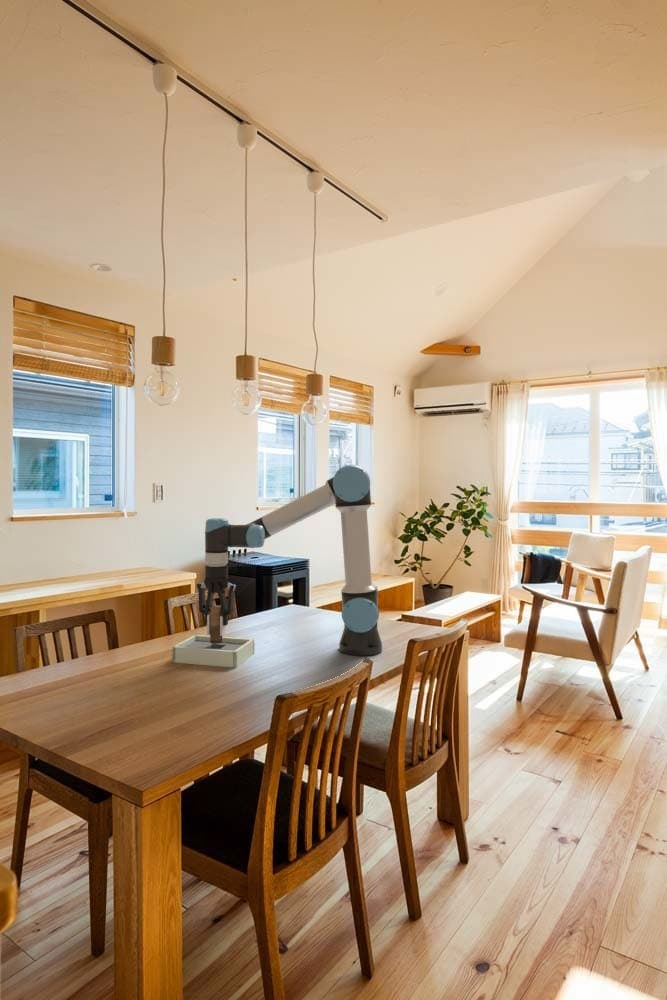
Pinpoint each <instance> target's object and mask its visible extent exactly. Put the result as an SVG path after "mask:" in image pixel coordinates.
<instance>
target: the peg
mask: <svg viewBox="0 0 667 1000" xmlns="http://www.w3.org/2000/svg"><path fill="white" fill-rule="evenodd" d="M221 615H222V610H221V605H220V604H219V605H218V604H217V605H216V604H215V605H212V606H210V635H209V636H210V643H212V644H219V643H222V637H223V636H220V616H221Z"/></svg>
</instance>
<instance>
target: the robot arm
mask: <svg viewBox="0 0 667 1000" xmlns="http://www.w3.org/2000/svg"><path fill="white" fill-rule="evenodd" d="M371 497H372V496H371V479H370V475H369V473H368V472H367V470H366V469H365V468H363V467H361V466H360V465H357V464H346V465H343V466H341V467H340V468H338V470H337V471H336V472H335V474H334V476H333V477H331V478H329V479H327V480H326V481H325V484H324V485H321V486H320V487H318V488H315V489H314V490H312V491H310V492H308V493H306V494H304V495H302V496H300V497H298V498H296V499H294V500H293V501H291V502H289V503H287V504H284V505H282V506H281V507H279V508H278V507H277V509H275V510H273V511H271V512H269V513H267V514H264V515H263V516H261V517H259V518H257V519H255V520H253V521H251V522H249V523H247V524H230V523H229V519H228V518H221V517H220V518H218V517H217V518H215V517H214V518H207V520H205V529H204V530H205V531H204V538H205V540H204V543H205V544H204V546H205V549H204V551H205V552H204V555H205V556H204V564H205V566H204V576H205V577H204V580H203V582H198V583H196V587H197V590H198V611H199V613H200V614H203V615H204V625H206V636H210V606H213V601H214V597H215V593H216V594H217V595H218V596H217V597H218V600H219V602H220V603H219V605H220V606H221V610H222V615H221V616H220V636H222V637H224V636H225V635H226V626H227V625H228V624H229V616H230V615H232V614H234V609H235V591H236V588H237V584H236V583H231V582H230V580H229V565H227V564H228V563H229V548H249V549H250V548H251V549H256V548H257V549H259V548H263V547H264V544H265V540H266V539H268V538H270V537H272V536H274V535H276V534H278V533H280V532H282V531H284V530H286V529H288V528H290V527H292V526H293V525H296V524H297V523H300V522H302V521H303V520H306V519H307V518H310V517H312V516H315V515H316V514H317V513H320V512H322V511H323V510H326V509H328V508H330V507H332V506H334V505H335V509H336V510H338V512H340V521H341V522H340V523H341V535H342V536H341V539H342V549H343V552H342V553H343V567H344V580H345V581H344V583H345V584H344V586H343V587H342V589H341V605H342V606H341V607H342V610H341V619H342V621H343V623H344V628H343V631H342V633H341V637H340V640H339V643H338V646H339V647H338V651H340V652H341V653H342V654H346V655H351V656H357V657H358V656H360V657H362V656H364V657H365V656H373V655H378V654H380V653H382V652H383V642H382V640H381V636H380V632H379V629H378V621H379V617H380V611H379V604H378V603H379V600H378V599H379V591H378V586H376V585H375V584H373V583H372V570H371V569H372V567H371V554H370V552H371V551H370V540H369V538H370V537H369V524H368V523H369V522H368V509H370V507H371V506H372V499H371ZM205 588H206V589H207V593H206V589H205ZM226 589H227V590H228V592H227V596H226ZM206 594H207V596H206Z"/></svg>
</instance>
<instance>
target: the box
mask: <svg viewBox="0 0 667 1000" xmlns="http://www.w3.org/2000/svg"><path fill="white" fill-rule="evenodd" d="M171 648H172V656H171V657H172V660H171V661H172V663H177V664H188V665H200V666H209V667H222V668H234V669H236V668H238V667H239V666H240V665H241V664H243V663H245V662H246V661H247V660H248V659H249V658H251V657H252V656H253V655H254V654H255V639H253V638H244V637H243V638H240V637H231V636H230V637H227V636H222V643H219V644H212V643H210V635H202V634H199V635H198V634H194V635H192V636H190V637H189V638H186V639H184V640H183V641H181V642H179V643H177V644H175V645H174V646H172V647H171Z"/></svg>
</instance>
